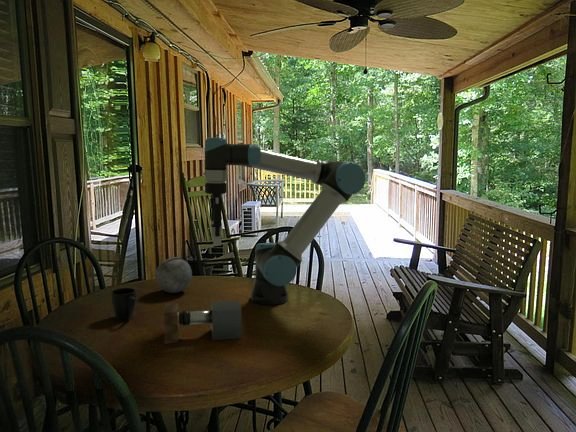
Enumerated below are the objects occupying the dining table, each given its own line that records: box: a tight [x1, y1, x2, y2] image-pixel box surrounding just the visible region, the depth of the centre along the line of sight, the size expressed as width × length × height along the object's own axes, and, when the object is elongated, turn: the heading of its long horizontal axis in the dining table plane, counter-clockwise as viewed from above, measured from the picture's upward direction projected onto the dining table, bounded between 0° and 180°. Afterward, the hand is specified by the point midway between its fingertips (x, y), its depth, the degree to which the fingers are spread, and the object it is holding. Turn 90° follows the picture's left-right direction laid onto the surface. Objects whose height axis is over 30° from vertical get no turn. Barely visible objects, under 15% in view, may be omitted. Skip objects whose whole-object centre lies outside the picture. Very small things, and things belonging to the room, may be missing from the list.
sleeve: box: [210, 299, 242, 341], centre depth 144 cm, size 9×9×10 cm
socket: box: [163, 302, 180, 344], centre depth 140 cm, size 4×9×10 cm, turn 12°
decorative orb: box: [154, 256, 193, 294], centre depth 187 cm, size 15×14×15 cm
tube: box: [178, 309, 212, 327], centre depth 142 cm, size 14×5×5 cm, turn 102°
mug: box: [110, 287, 137, 321], centre depth 156 cm, size 8×12×10 cm
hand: (216, 241), depth 159 cm, fingers open, 13 cm apart
